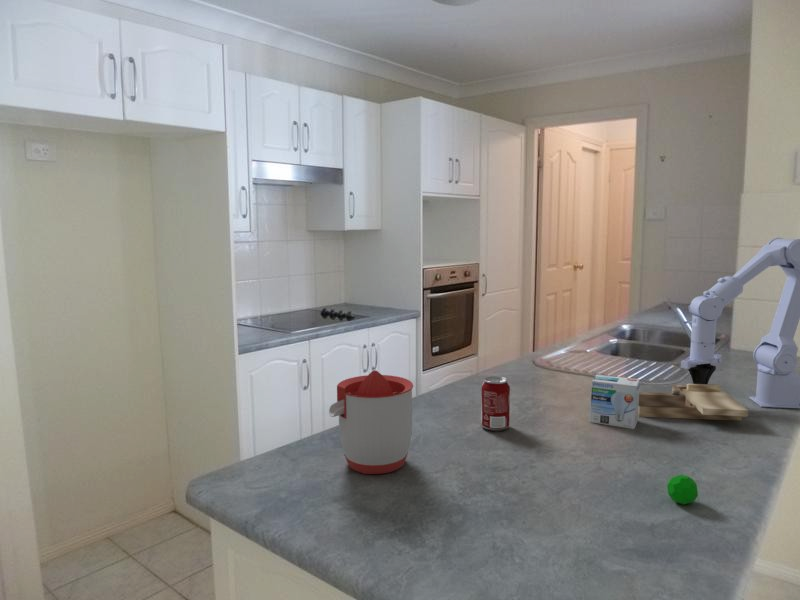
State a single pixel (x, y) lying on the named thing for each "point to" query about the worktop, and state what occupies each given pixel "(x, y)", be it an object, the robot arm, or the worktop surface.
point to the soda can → (495, 403)
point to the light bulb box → (615, 401)
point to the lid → (713, 400)
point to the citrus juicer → (374, 421)
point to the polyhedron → (682, 489)
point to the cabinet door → (662, 399)
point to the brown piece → (681, 410)
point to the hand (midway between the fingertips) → (699, 391)
